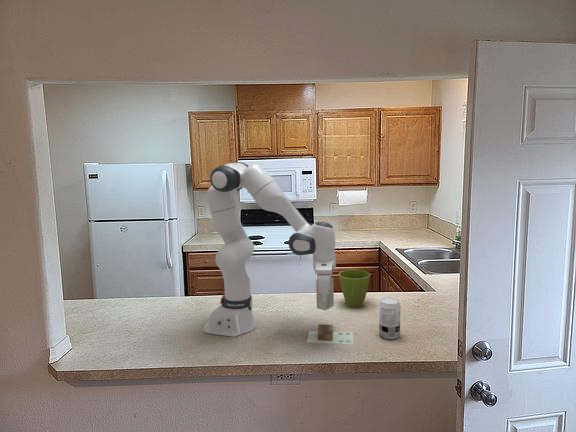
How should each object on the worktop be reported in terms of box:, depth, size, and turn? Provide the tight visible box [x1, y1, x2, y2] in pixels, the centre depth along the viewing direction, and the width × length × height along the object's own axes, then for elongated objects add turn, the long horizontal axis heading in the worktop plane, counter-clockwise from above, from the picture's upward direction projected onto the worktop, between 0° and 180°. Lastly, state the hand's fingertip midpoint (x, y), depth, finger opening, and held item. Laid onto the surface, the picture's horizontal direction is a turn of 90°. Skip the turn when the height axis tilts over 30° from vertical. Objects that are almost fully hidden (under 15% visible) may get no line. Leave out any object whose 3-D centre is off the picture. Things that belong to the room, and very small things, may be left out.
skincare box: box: [315, 276, 335, 311], centre depth 160 cm, size 6×4×12 cm
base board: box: [307, 330, 354, 345], centre depth 163 cm, size 18×10×2 cm, turn 83°
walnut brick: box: [317, 323, 334, 341], centre depth 163 cm, size 6×6×4 cm
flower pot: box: [338, 269, 371, 309], centre depth 198 cm, size 15×15×16 cm
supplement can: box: [378, 297, 401, 340], centre depth 165 cm, size 8×8×15 cm
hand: (325, 297), depth 160 cm, fingers closed on skincare box, 7 cm apart
